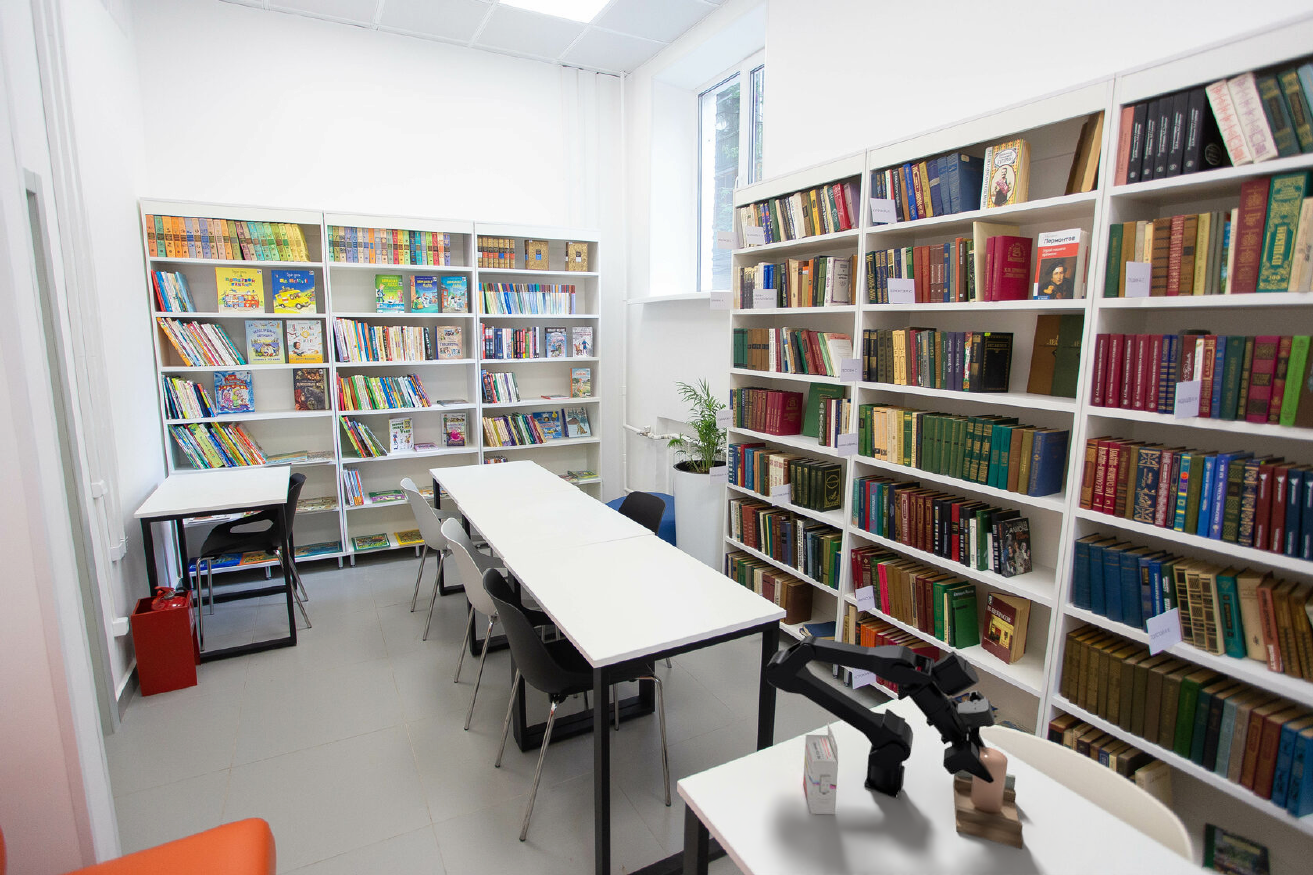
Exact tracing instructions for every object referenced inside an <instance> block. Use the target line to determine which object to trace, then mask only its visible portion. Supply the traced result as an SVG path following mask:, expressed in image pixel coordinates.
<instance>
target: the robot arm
mask: <svg viewBox="0 0 1313 875" xmlns="http://www.w3.org/2000/svg"><path fill="white" fill-rule="evenodd" d="M812 661H815V662H819V663H826V664H831V665H835V666H841V667H846V668H851V669H855V670H856V669H857V670H860V671H865V672H869V673H871V674H874V676H877V677H878V678H879V679H881V680H884V681H886V682H889V683H891V684H895V685H897V689H898V696H897V699H898V700H899V701H902V700H904V699H906V698H907V697H909V698H910V699H911V701H912V702H913V703H914V704H915V705H916V707H917V708H918V710H920V711H921V712H922V714H923V715H924V716H925V717H926V724H927V725H928V727H932V726H933V727H934V728H935V729H936V730H937V731H938V733H939V734H940V741H941V742H942V743H943V745H946V744H948V743H951V745H950V746H948V747H946V748H944V751H943V764H942V765H943V767H944V769H945V770H946V771H947V772H948V773H949V774H950V775H953V776H954V774H955V773H957V772H959V771H961V770H964V771H966V772H968V773H970V774H972V775H974V776H976V777H978V778H980V779H982V780H984V781H986V782H988V783H992V782H994V779H993V777H992V775H991V774H990V772H989V771H988V769H987V767H986V766H985V764H984V763H983V761H982V760H981V758H980V747H987V746H986V744H985V743H984V740H983V738H982V736H981V734H980V729H981V728H983V727H986V728H989V727H993V726H995V724H996V723H995V714H994V711H993V709H992V707H991V701H990V700H989V699H988V698H987V697H986V696H984V695H983V694H982V693H981V692H980V691H979V690H977V689H976V690H971V691H969V696H968V699H964V701H963V702H958V700H956V698H954V697H955V696H957V695H959V694H960V693H962V692H964V691H966V690H968V689H969V688H972V687H973V686H975V685H977V684H978V683H979V682H980V678H979V675H978V674H977V672H976V670H975V668H974V667H973V665H972V664H971V663H970V661H969V660H967V659H965V658H964V657H963V656H961V655H958V654H957V653H956V652H955V651H954V650H952V651H951V652H949V653H947V654H946V655H945V656H944V657H942V658H940V659H939V660H937V661H936V662H935V659H934V658H931V657H929V656H927V655H923V654H920V653H917V652H914V651H913V649H912V648H911V647H908V646H906V645H901V644H899V645H898V644H895V645H894V644H890V645H889V644H887V645H881V646H875V647H874V646H865V645H859V644H854V643H848V642H842V641H837V640H831V639H825V638H820V637H816V636H815V635H806V636H805V637H803V639H801V640H800V641H798V642H797V643H794V644H793V645H791V646H790V647H789V648H787V649H781V650H778V651H776V652H775V653H774V654H773V656H772V658H771V659H770V661H769V663H768V664H767V665H766V667H765V670H764V671H765V672H764V674H765V676H766V680H767V682H768V684H769V685H771V686H772V687H774V688H777V689H778V690H781V691H783V692H784V693H785V692H786V693H787V694H795V695H802V696H803V697H805V698H807V699H808V700H810V701H811V702H812V703H815V704H816V705H818V706H819V707H821V708H822V709H824V710H825V711H827V712H829V713H830V714H832V715H834V716H835V717H837V718H838V719H840V720H841V721H843V722H844V723H847V725H849V726H851V727H853V728H854V729H856V730H857V731H859V732H860V733H862V734H863V735H864V736H865V737H866V739H868V741H869V742H870V744H871V745H870V750H869V753H868V758H867V768H866V769H867V772H866V779H865V781H864V783H863V786H864V787H866V788H868V789H870V790H874V791H876V792H878V793H881V794H884V795H885V796H886V795H887V796H890V797H892V798H897V797H898V794H899V791H902V789H903V786H904V780H905V770H906V769H905V768H906V767H905V766H904V765H903V762H905V761H908V759H910V756H911V753H912V749H913V748H912V747H913V743H914V742H913V741H914V732H913V730H912V727H911V726H910V724H909V723H907V722H906V718H905V717H902V716H899V715H897V714H896V713H894V712H893V711H892V710H890V709H889V708H886V709H885V711H884V713H880V712H875V711H872V710H871V709H869V708H867V707H866V706H864V705H863V704H862V703H860V702H857V701H856V700H855V699H853V698H851V697H849V696H848V695H846V694H845V693H844V692H842V691H840V690H838V689H837V688H835V687H833V686H832V685H830V684H829V683H827V682H825V681H824V680H822V679H821V678H819V677H817V676H816V675H814V673H812V672H811V671H810V669H809V668H808V667H807V664H809V663H810V662H812ZM918 668H920V670H919V669H918ZM917 669H918V670H917Z"/></svg>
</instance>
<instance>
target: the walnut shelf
mask: <svg viewBox="0 0 1313 875" xmlns="http://www.w3.org/2000/svg"><path fill="white" fill-rule="evenodd" d="M972 776H973V775H972V774H970V773H968V772H966V771H964V770H961V771H959V772H957V773H955V774H953V779H952V780H953V781H952V787H953V788H952V789H953V803H954V815H955V830H956V832H959V833H963V834H966V835H971V836H974V837H978V838H980V839H986V840H989V841H992V842H995V843H999V844H1004V845H1007V846H1011V847H1014V848H1018V849H1021V850H1022V849H1023V845H1024V844H1023V843H1024V842H1023V838H1022V834H1023V833H1022V832H1023V822H1022V821H1019V817H1018V812H1017V807H1016V796H1017V793H1016V789H1015V784H1016V775H1014V774H1010V773H1006V779H1005V787H1004V796H1003V804H1002V809H1001V811H999V812H997V813H990V812H986V811H983V810H981V809H979V808H977V807H976V806H975V805H974V804H973V803H972V802H971V800H970V794H971V785H972Z"/></svg>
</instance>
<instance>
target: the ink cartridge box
mask: <svg viewBox="0 0 1313 875" xmlns="http://www.w3.org/2000/svg"><path fill="white" fill-rule="evenodd" d="M804 740H805V745H804V746H805V747H804V762H803V763H804V765H803V778H802V779H803V782H802V786H803V788H804V792H805V795H806V799H807V803H808V806H809V810H810V813H811V815H835V814H836V805H837V804H836V803H837V789H838V788H837V787H838V786H837V785H838V772H839V770H838V769H839V768H838V767H839V756H838V755H839V753H838V750H839V749H838V745H837V742H836V739H835V736H834V734H833V731H832V729H831V726H830V723H829V722H827V735H826V734H805V738H804Z"/></svg>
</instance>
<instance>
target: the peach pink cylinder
mask: <svg viewBox="0 0 1313 875" xmlns="http://www.w3.org/2000/svg"><path fill="white" fill-rule="evenodd" d="M980 758H981V760H982V761H983V763H984V764H985V766H986V767H987V769H988V771H989V772H990V774H991V775H992V777H993V779H994V782H992V783H988V782H986V781H984V780H982V779H980V778H978V777H976V776H974V775H973V776H972V785H971V794H970V800H971V802H972V803H973V804H974V805H975V806H976V807H977V808H979V809H981V810H983V811H986V812H990V813H997V812H999V811H1001V809H1002V804H1003V796H1004V787H1005V779H1006V774H1007V770H1008V763H1009V761H1008V758H1007V756H1006V755H1005V754H1004V753H1003V752H1002V751H999V750H998V749H995V748H992V747H987V746H986V747H980Z"/></svg>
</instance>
